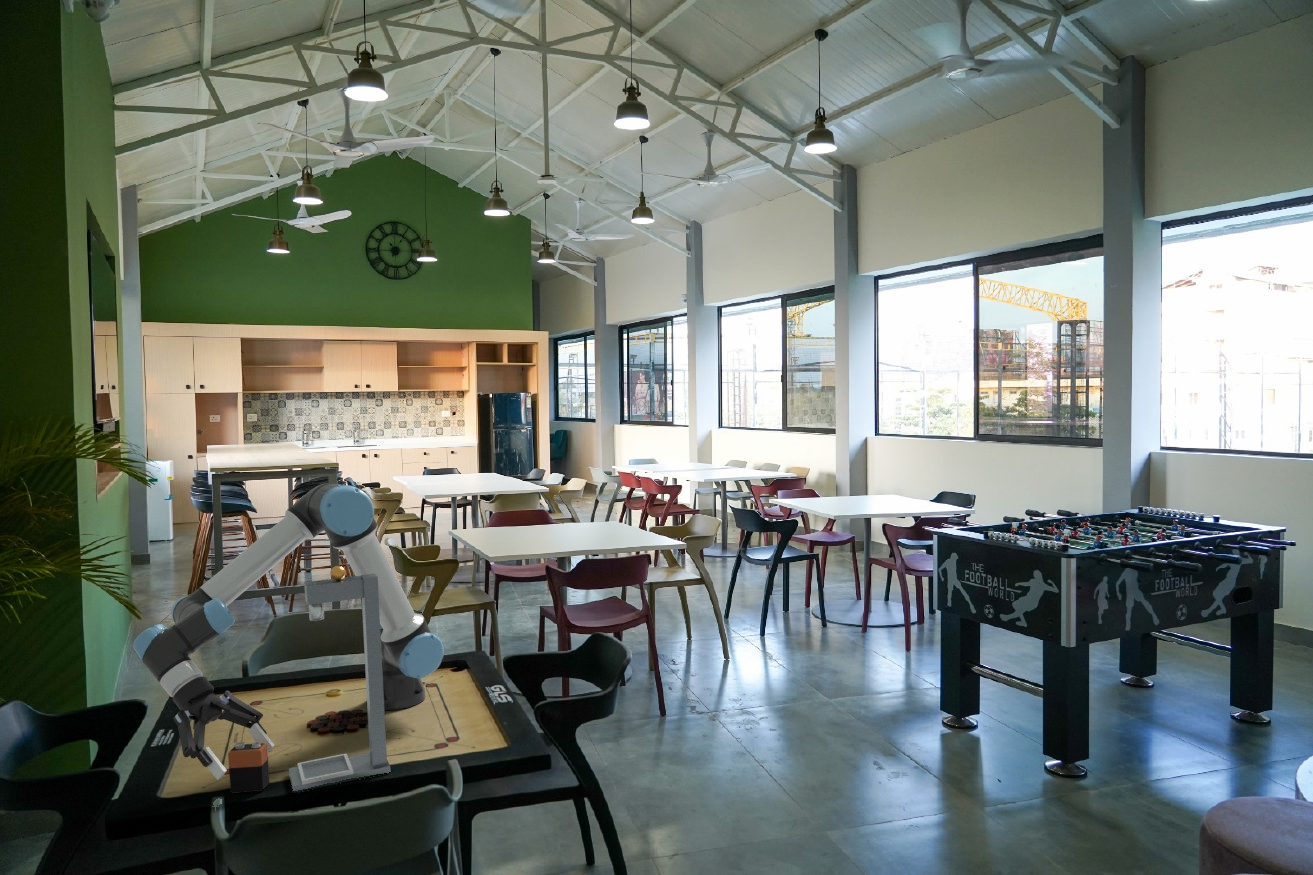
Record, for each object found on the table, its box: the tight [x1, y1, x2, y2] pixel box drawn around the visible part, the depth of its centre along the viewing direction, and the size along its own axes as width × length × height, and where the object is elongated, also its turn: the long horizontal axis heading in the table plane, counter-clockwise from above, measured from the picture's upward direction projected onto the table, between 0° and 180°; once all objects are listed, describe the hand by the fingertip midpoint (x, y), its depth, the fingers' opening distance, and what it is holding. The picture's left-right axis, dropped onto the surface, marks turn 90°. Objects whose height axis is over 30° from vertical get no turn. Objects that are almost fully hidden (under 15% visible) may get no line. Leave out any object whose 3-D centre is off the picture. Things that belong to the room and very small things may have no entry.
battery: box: [227, 741, 270, 793], centre depth 194 cm, size 4×7×10 cm, turn 94°
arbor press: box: [288, 565, 392, 792], centre depth 199 cm, size 10×20×46 cm, turn 116°
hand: (247, 762), depth 193 cm, fingers open, 13 cm apart
